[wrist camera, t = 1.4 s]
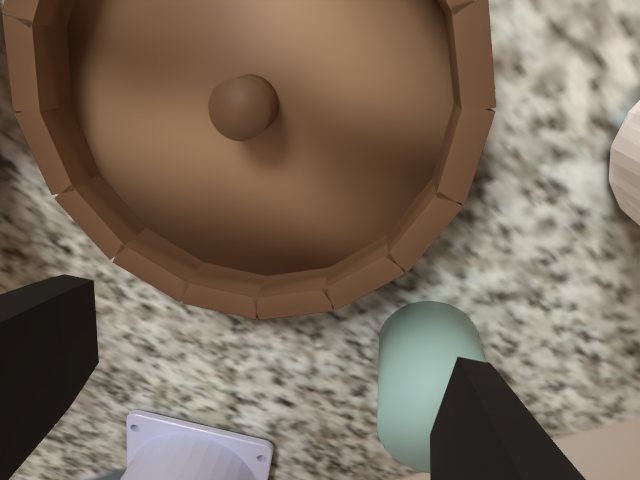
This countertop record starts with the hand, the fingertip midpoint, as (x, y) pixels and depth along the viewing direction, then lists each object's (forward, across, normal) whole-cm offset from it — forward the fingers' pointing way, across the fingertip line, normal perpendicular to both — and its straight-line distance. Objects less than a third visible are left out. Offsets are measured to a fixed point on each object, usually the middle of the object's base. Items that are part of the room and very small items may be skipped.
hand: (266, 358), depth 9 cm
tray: (+10, +3, -3) cm, 11 cm away
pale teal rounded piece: (+10, -6, +6) cm, 13 cm away
